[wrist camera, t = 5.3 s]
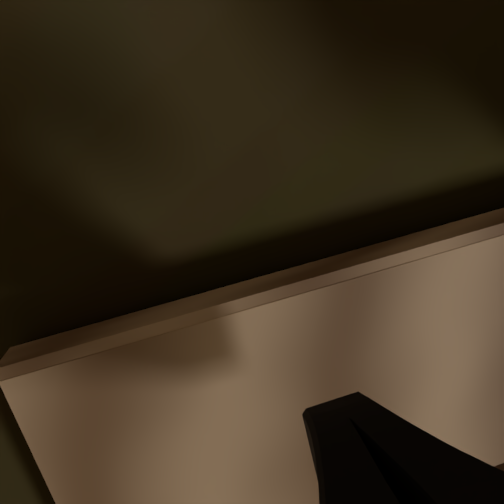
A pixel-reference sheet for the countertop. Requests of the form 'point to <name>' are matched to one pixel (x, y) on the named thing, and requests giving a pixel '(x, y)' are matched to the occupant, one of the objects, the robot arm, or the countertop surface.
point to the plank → (269, 373)
